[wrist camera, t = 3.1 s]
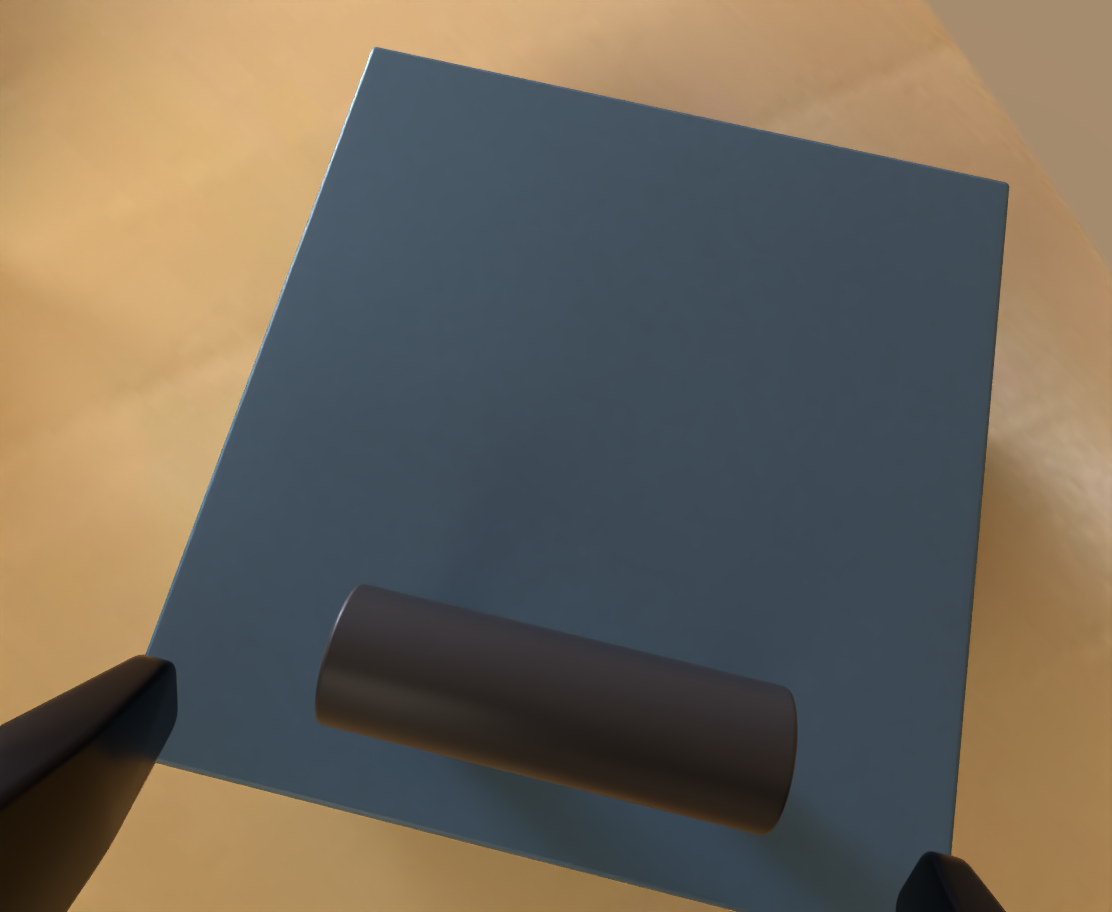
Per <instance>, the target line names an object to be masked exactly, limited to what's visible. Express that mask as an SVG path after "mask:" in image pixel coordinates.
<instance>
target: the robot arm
mask: <svg viewBox="0 0 1112 912" xmlns="http://www.w3.org/2000/svg"><path fill="white" fill-rule="evenodd" d="M177 714H178V698H177V675H176V667H175V665H174V664H173V663H172V662H170V661H169V660H165V659H161V658H157V657H153V656H149V655H138V656H135V657H132V658H130V659H128V660H126V661H125V662H123V663H121V664H119V665H117V666H115V667H113V668H111V669H109V670H107V671H105V672H103V673H101V674H99V675H97V676H95V677H94V678H92V679H90V680H88V681H86V682H84V683H82V684H80V685H78V686H76V687H74V688H72V689H70V690H68V691H66V692H64V693H63V694H61V695H59V696H57V697H55V698H53V699H51V700H49V701H47V702H45V703H43V704H41V705H39V706H37V707H35V708H33V709H32V710H30V711H28V712H26V713H24V714H22V715H20V716H18V717H16V718H14V719H12V720H10V721H8V722H6V723H4V724H2V725H1V726H0V912H67V911H68V909H69V908H70V906H71V905H72V903H73V902H74V900H75V899H76V897H77V896H78V894H79V893H80V891H81V890H82V889H83V887H84V886H85V884H86V883H87V881H88V880H89V878H90V877H91V875H92V874H93V872H94V871H95V869H96V868H97V866H98V865H99V863H100V861H101V860H102V858H103V857H104V855H105V854H106V852H107V850H108V849H109V847H110V845H111V844H112V842H113V840H114V838H115V837H116V835H117V833H118V831H119V829H120V828H121V826H122V824H123V822H124V820H125V818H126V816H127V815H128V813H129V811H130V809H131V807H132V805H133V803H134V801H135V800H136V798H137V796H138V794H139V792H140V790H141V788H142V787H143V785H144V783H145V781H146V779H147V777H148V775H149V773H150V772H151V770H152V768H153V766H154V764H155V762H156V760H157V759H158V757H159V755H160V753H161V751H162V749H163V747H164V745H165V744H166V742H167V740H168V738H169V736H170V734H171V732H172V730H173V728H174V725H175V723H176V719H177ZM895 912H1006V911H1005V910H1004V909H1003V907H1002V906H1001V905H1000V903H999V902H998V901H997V900H996V898H995V897H994V896H993V895H992V893H991V892H990V891H989V889H988V888H987V887H986V886H985V884H984V883H983V882H982V881H981V879H980V878H979V877H978V876H977V874H976V873H975V872H974V870H973V869H972V868H971V867H970V866H969V865H968V864H967V863H966V862H965V861H964V860H962V859H960V858H958V857H954V856H950V855H946V854H942V853H938V852H934V851H928V852H926V853H924V854H923V855H922V856H921V857H920V859H919V860H918V862H917V864H916V865H915V867H914V869H913V870H912V872H911V874H910V875H909V877H908V879H907V880H906V882H905V884H904V885H903V887H902V888H901V890H900V892H899V894H898V898H897V902H896V911H895Z"/></svg>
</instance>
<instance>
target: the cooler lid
mask: <svg viewBox="0 0 1112 912" xmlns="http://www.w3.org/2000/svg"><path fill="white" fill-rule="evenodd" d="M1008 194H1009V185H1008V184H1007V183H1005V182H1001V181H996V180H992V179H987V178H982V177H978V176H973V175H968V174H964V173H959V172H954V171H950V170H945V169H940V168H936V167H931V166H927V165H922V164H917V163H913V162H908V161H903V160H899V159H894V158H889V157H885V156H880V155H875V154H871V153H866V152H862V151H857V150H852V149H848V148H843V147H838V146H834V145H829V144H824V143H820V142H815V141H810V140H806V139H801V138H796V137H792V136H787V135H783V134H778V133H773V132H769V131H764V130H759V129H755V128H750V127H745V126H741V125H736V124H731V123H727V122H722V121H718V120H713V119H708V118H704V117H699V116H694V115H690V114H685V113H680V112H676V111H671V110H666V109H662V108H657V107H653V106H648V105H643V104H639V103H634V102H629V101H625V100H620V99H615V98H611V97H606V96H601V95H597V94H592V93H588V92H583V91H578V90H574V89H569V88H564V87H560V86H555V85H550V84H546V83H541V82H536V81H532V80H527V79H523V78H518V77H513V76H509V75H504V74H499V73H495V72H490V71H485V70H481V69H476V68H471V67H467V66H462V65H458V64H453V63H448V62H444V61H439V60H434V59H430V58H425V57H420V56H416V55H411V54H406V53H402V52H397V51H393V50H388V49H383V48H379V47H374V48H373V49H372V51H371V54H370V56H369V59H368V62H367V64H366V67H365V70H364V72H363V75H362V78H361V80H360V83H359V86H358V88H357V91H356V94H355V96H354V99H353V102H352V104H351V107H350V110H349V112H348V115H347V118H346V120H345V123H344V126H343V128H342V131H341V134H340V136H339V139H338V142H337V144H336V147H335V150H334V152H333V155H332V158H331V160H330V163H329V166H328V168H327V171H326V174H325V176H324V179H323V182H322V184H321V187H320V190H319V192H318V195H317V198H316V201H315V203H314V206H313V209H312V211H311V214H310V217H309V219H308V222H307V225H306V227H305V230H304V233H303V235H302V238H301V241H300V243H299V246H298V249H297V251H296V254H295V257H294V259H293V262H292V265H291V267H290V270H289V273H288V275H287V278H286V281H285V283H284V286H283V289H282V291H281V294H280V297H279V299H278V302H277V305H276V307H275V310H274V313H273V315H272V318H271V321H270V323H269V326H268V329H267V331H266V334H265V337H264V339H263V342H262V345H261V347H260V350H259V353H258V355H257V358H256V361H255V363H254V366H253V369H252V371H251V374H250V377H249V379H248V382H247V385H246V387H245V390H244V393H243V395H242V398H241V401H240V403H239V406H238V409H237V411H236V414H235V417H234V419H233V422H232V425H231V427H230V430H229V433H228V435H227V438H226V441H225V443H224V446H223V449H222V451H221V454H220V457H219V459H218V462H217V465H216V467H215V470H214V473H213V475H212V478H211V481H210V483H209V486H208V489H207V491H206V494H205V497H204V499H203V502H202V505H201V507H200V510H199V513H198V515H197V518H196V521H195V523H194V526H193V529H192V532H191V534H190V537H189V540H188V542H187V545H186V548H185V550H184V553H183V556H182V558H181V561H180V564H179V566H178V569H177V572H176V574H175V577H174V580H173V582H172V585H171V588H170V590H169V593H168V596H167V598H166V601H165V604H164V606H163V609H162V612H161V614H160V617H159V620H158V622H157V625H156V628H155V630H154V633H153V636H152V638H151V641H150V644H149V646H148V649H147V652H146V654H145V655H149V656H153V657H157V658H161V659H165V660H169V661H170V662H172V663H173V664H174V665H175V667H176V675H177V698H178V714H177V719H176V723H175V725H174V728H173V730H172V732H171V734H170V736H169V738H168V740H167V742H166V744H165V745H164V747H163V749H162V751H161V753H160V755H159V757H158V759H157V760H156V762H155V763H158V764H162V765H166V766H170V767H174V768H178V769H182V770H186V771H190V772H194V773H198V774H201V775H205V776H209V777H213V778H217V779H221V780H225V781H229V782H233V783H237V784H241V785H244V786H248V787H252V788H256V789H260V790H264V791H268V792H272V793H276V794H280V795H284V796H288V797H291V798H295V799H299V800H303V801H307V802H311V803H315V804H319V805H323V806H327V807H331V808H334V809H338V810H342V811H346V812H350V813H354V814H358V815H362V816H366V817H370V818H374V819H377V820H381V821H385V822H389V823H393V824H397V825H401V826H405V827H409V828H413V829H417V830H420V831H424V832H428V833H432V834H436V835H440V836H444V837H448V838H452V839H456V840H460V841H463V842H467V843H471V844H475V845H479V846H483V847H487V848H491V849H495V850H499V851H503V852H506V853H510V854H514V855H518V856H522V857H526V858H530V859H534V860H538V861H542V862H546V863H549V864H553V865H557V866H561V867H565V868H569V869H573V870H577V871H581V872H585V873H589V874H592V875H596V876H600V877H604V878H608V879H612V880H616V881H620V882H624V883H628V884H632V885H636V886H639V887H643V888H647V889H651V890H655V891H659V892H663V893H667V894H671V895H675V896H679V897H682V898H686V899H690V900H694V901H698V902H702V903H706V904H710V905H714V906H718V907H722V908H725V909H729V910H733V911H737V912H895V911H896V902H897V898H898V894H899V892H900V890H901V888H902V887H903V885H904V884H905V882H906V880H907V879H908V877H909V875H910V874H911V872H912V870H913V869H914V867H915V865H916V864H917V862H918V860H919V859H920V857H921V856H922V855H923V854H924V853H926V852H928V851H934V852H938V853H942V854H946V855H950V856H951V851H952V839H953V828H954V816H955V805H956V793H957V782H958V770H959V759H960V747H961V736H962V724H963V713H964V701H965V690H966V678H967V667H968V655H969V644H970V632H971V621H972V609H973V598H974V586H975V575H976V563H977V551H978V540H979V528H980V517H981V505H982V494H983V482H984V471H985V459H986V448H987V436H988V425H989V413H990V402H991V390H992V379H993V367H994V356H995V344H996V333H997V321H998V310H999V298H1000V287H1001V275H1002V264H1003V252H1004V240H1005V229H1006V217H1007V206H1008Z"/></svg>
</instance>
